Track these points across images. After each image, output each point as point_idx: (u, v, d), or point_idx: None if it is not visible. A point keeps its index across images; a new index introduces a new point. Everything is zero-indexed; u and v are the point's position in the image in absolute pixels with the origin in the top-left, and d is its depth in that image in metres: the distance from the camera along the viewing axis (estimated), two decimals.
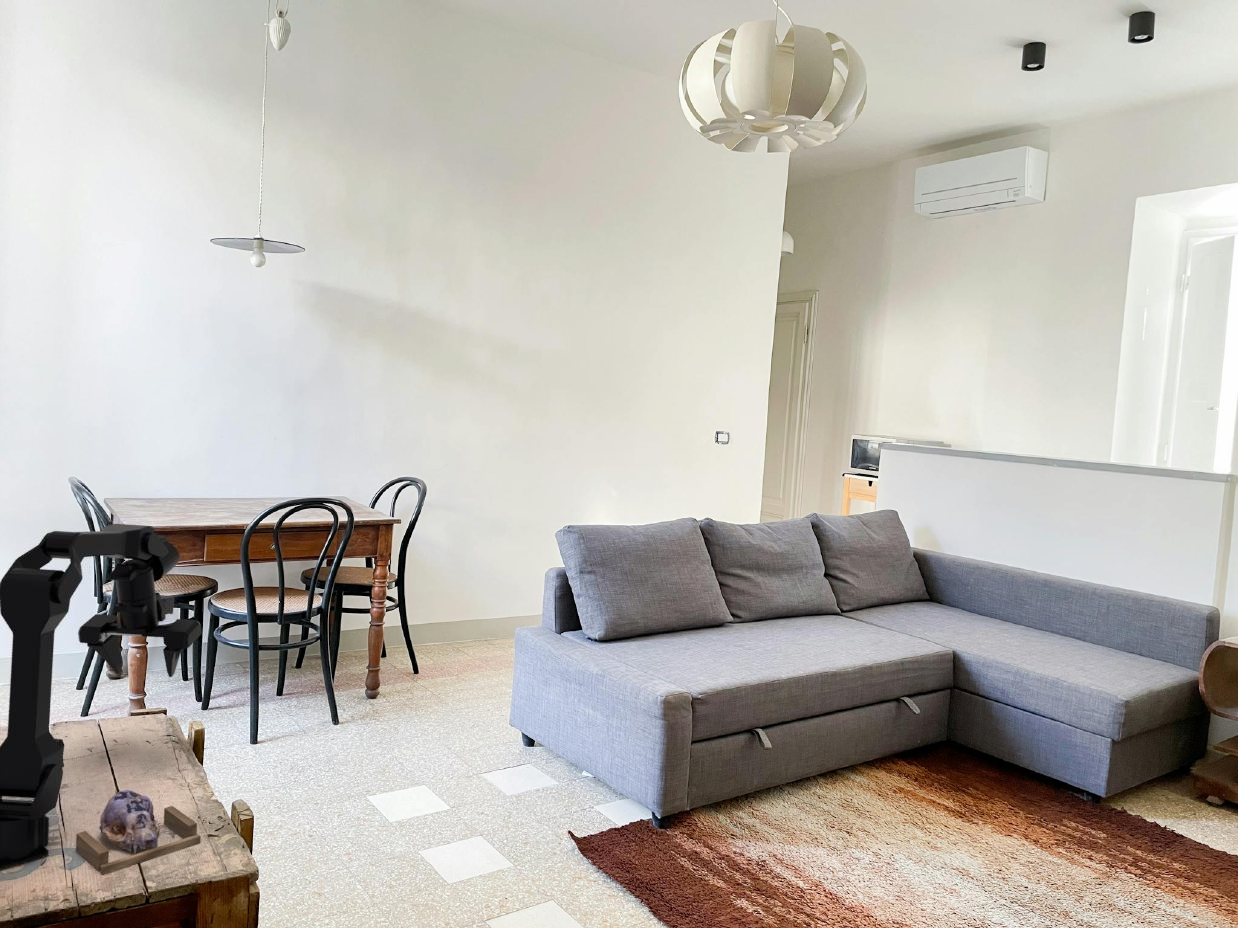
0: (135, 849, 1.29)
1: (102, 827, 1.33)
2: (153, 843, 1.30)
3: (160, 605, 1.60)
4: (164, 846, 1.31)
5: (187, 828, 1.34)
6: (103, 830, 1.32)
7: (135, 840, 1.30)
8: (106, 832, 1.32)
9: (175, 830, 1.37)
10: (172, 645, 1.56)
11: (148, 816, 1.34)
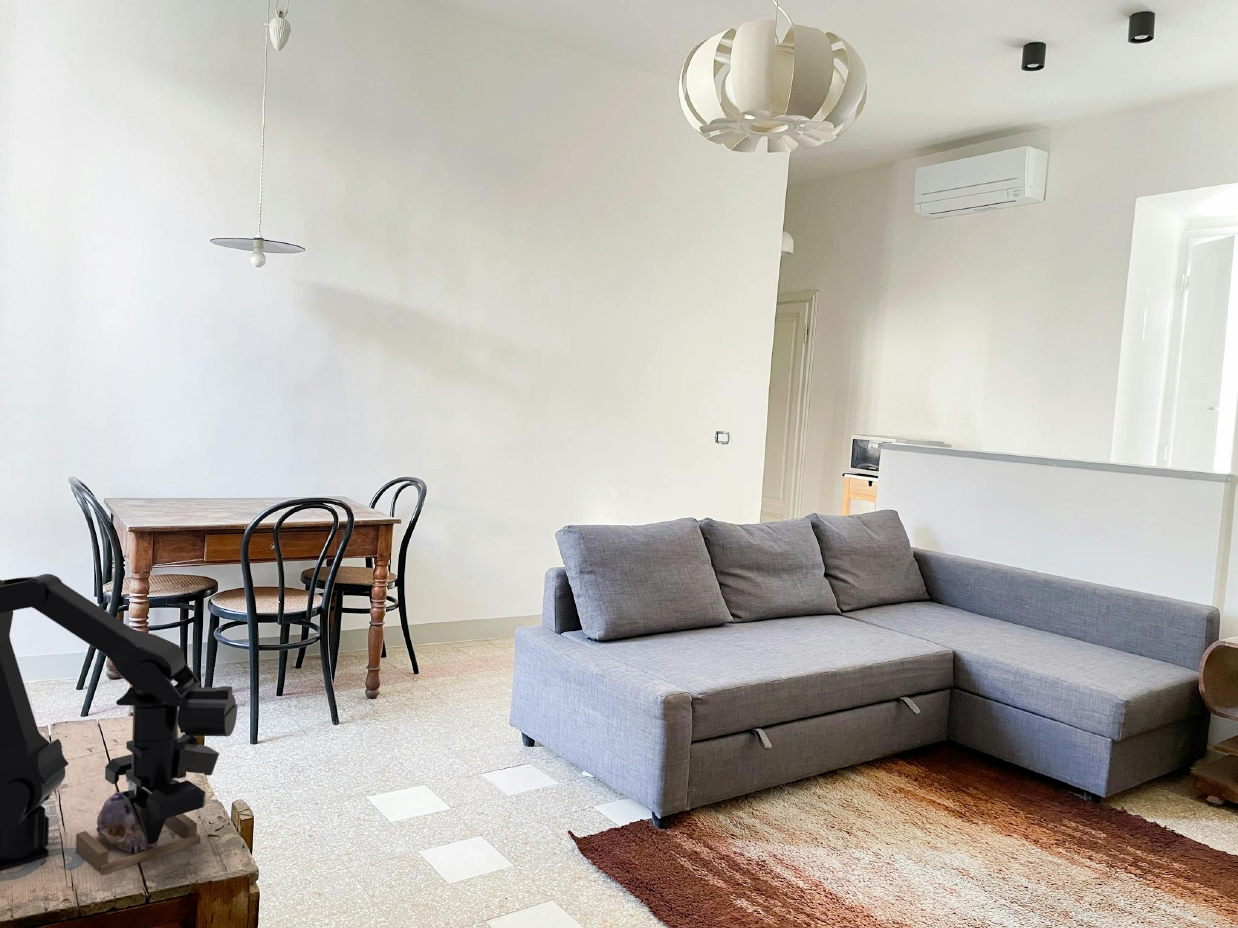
0: (136, 849, 1.29)
1: (99, 828, 1.32)
2: (154, 843, 1.30)
3: (180, 757, 1.29)
4: (164, 846, 1.31)
5: (187, 828, 1.34)
6: (101, 832, 1.31)
7: (136, 840, 1.29)
8: (104, 833, 1.31)
9: (175, 830, 1.37)
10: (153, 810, 1.22)
11: None
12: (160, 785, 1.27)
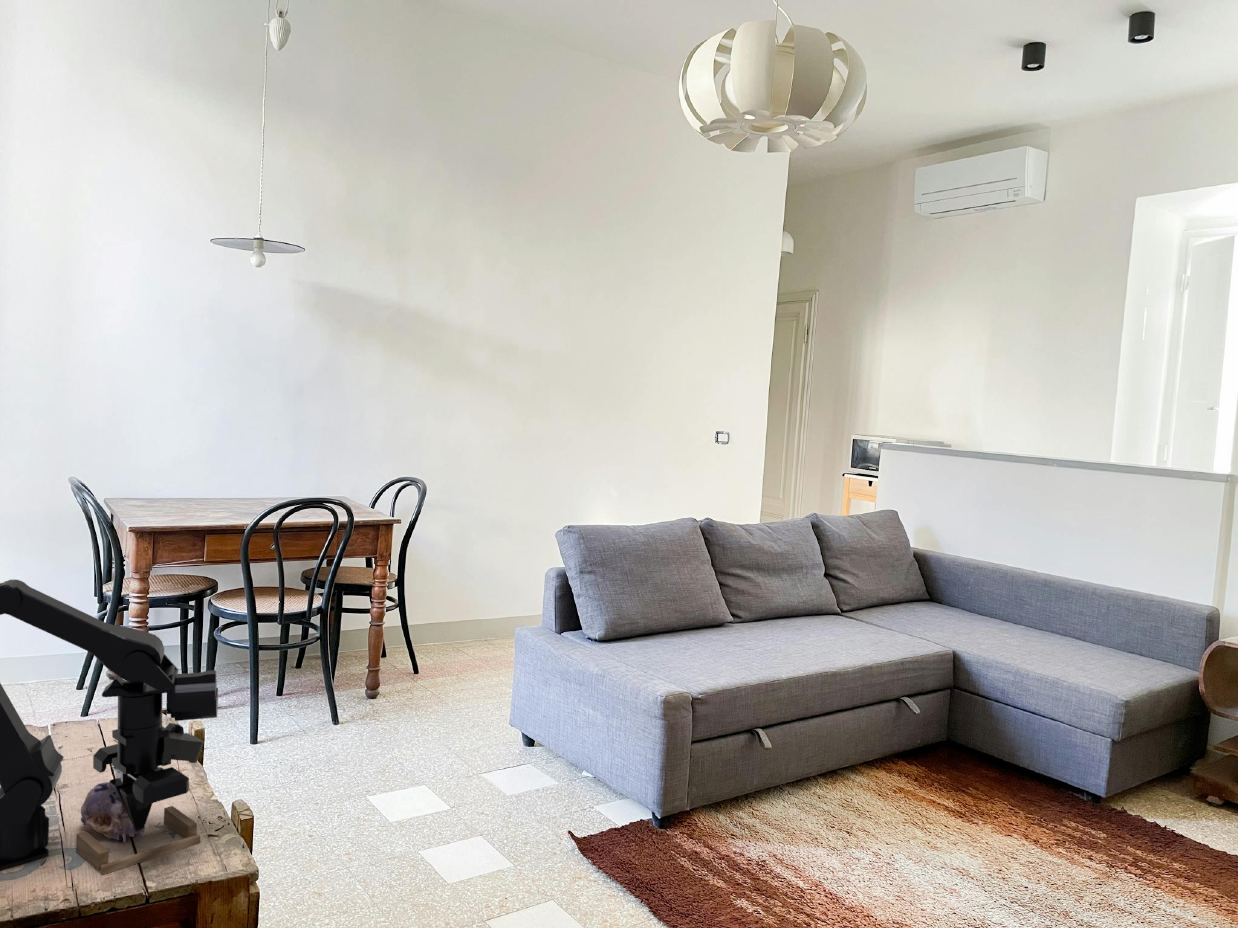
0: (124, 837, 1.32)
1: (84, 819, 1.35)
2: (142, 830, 1.33)
3: (164, 745, 1.32)
4: (164, 846, 1.31)
5: (187, 828, 1.34)
6: (87, 822, 1.34)
7: (124, 828, 1.33)
8: (90, 823, 1.34)
9: (175, 830, 1.37)
10: (137, 795, 1.26)
11: None
12: (145, 772, 1.30)
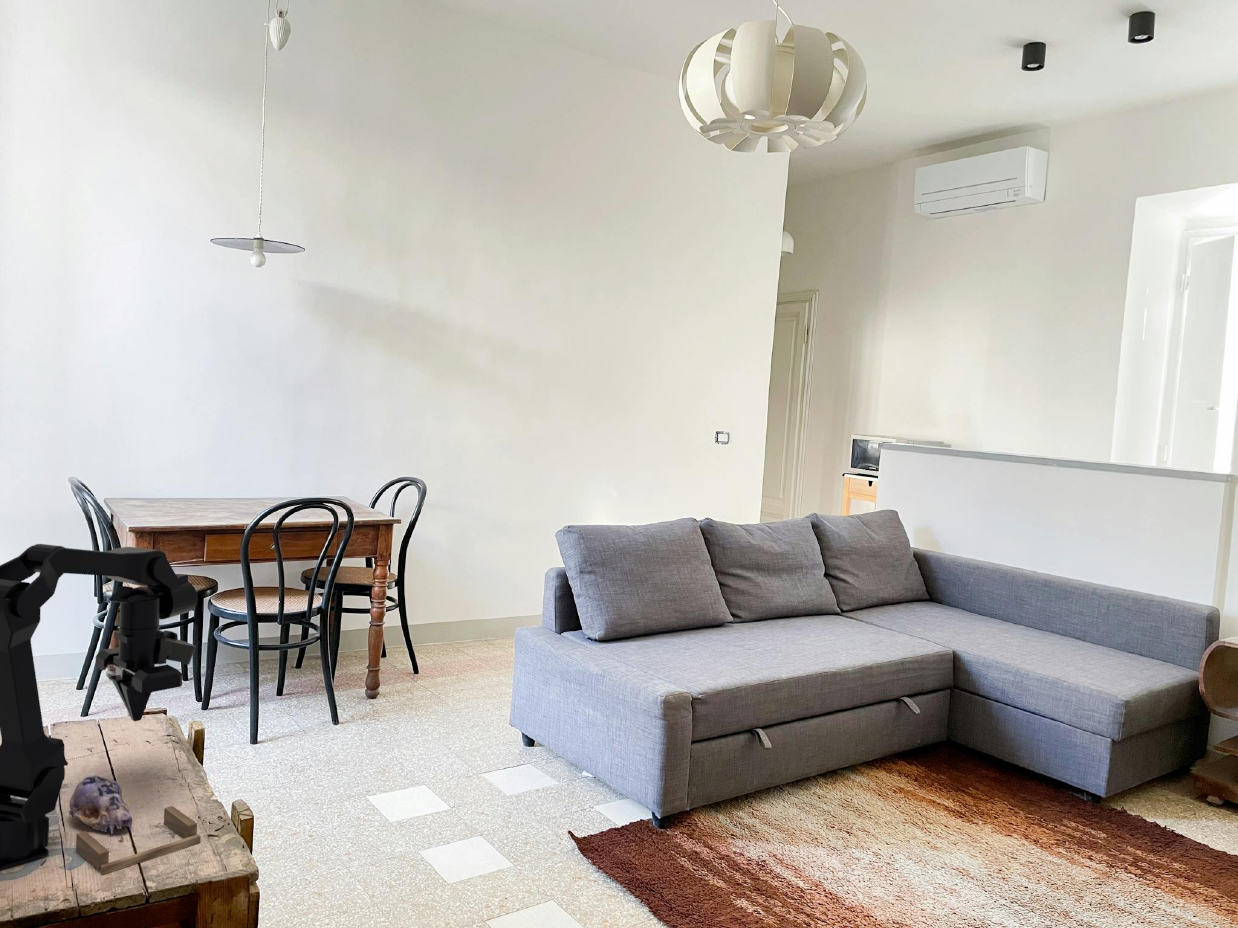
0: (112, 829, 1.35)
1: (72, 811, 1.37)
2: (129, 822, 1.36)
3: (161, 646, 1.48)
4: (164, 846, 1.31)
5: (187, 828, 1.34)
6: (75, 814, 1.36)
7: (111, 820, 1.35)
8: (78, 816, 1.36)
9: (175, 830, 1.37)
10: (136, 686, 1.41)
11: (120, 798, 1.39)
12: (143, 668, 1.46)
